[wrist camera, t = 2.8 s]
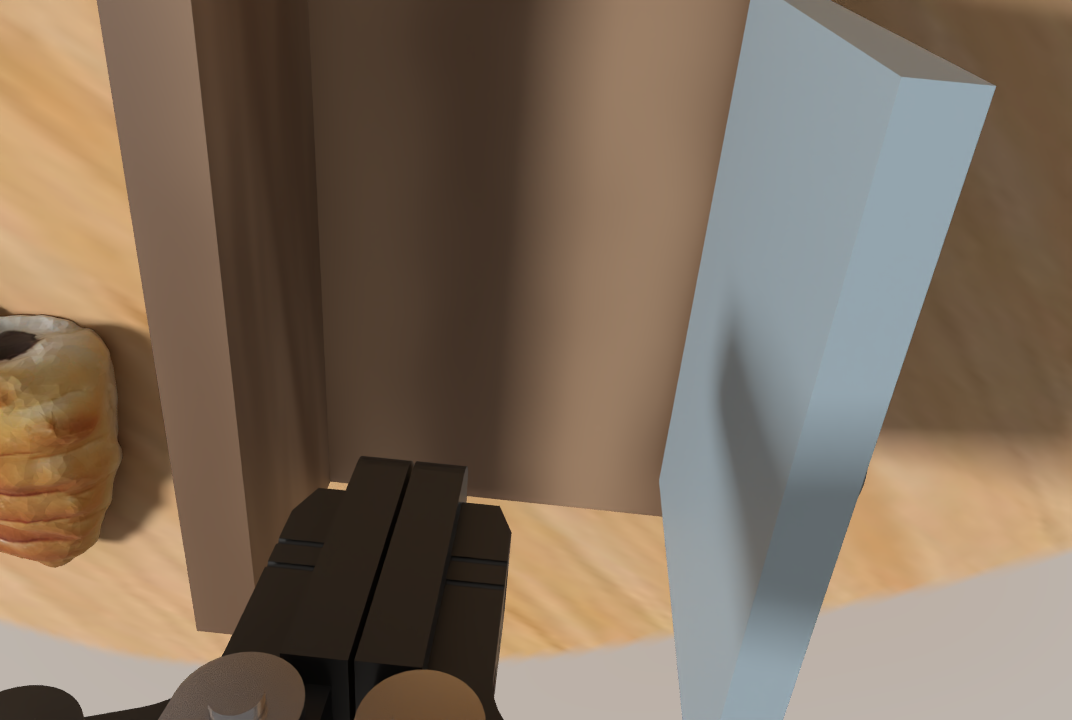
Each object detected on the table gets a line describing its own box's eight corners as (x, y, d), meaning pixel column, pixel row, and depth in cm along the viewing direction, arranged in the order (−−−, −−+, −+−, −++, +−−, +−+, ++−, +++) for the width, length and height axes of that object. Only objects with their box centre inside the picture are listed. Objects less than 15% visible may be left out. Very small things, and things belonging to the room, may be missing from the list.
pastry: (156, 541, 31) (102, 620, 28) (-25, 519, 32) (-100, 595, 28) (119, 313, 27) (50, 374, 23) (-93, 287, 27) (-191, 345, 24)
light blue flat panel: (659, 480, 24) (692, 818, 15) (754, -20, 18) (901, 77, 9) (722, 487, 24) (791, 829, 15) (840, -11, 18) (1073, 93, 9)
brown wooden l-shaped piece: (787, -100, 20) (909, -87, 12) (676, 458, 28) (707, 686, 20) (276, -148, 20) (70, -166, 12) (310, 420, 28) (197, 630, 20)
